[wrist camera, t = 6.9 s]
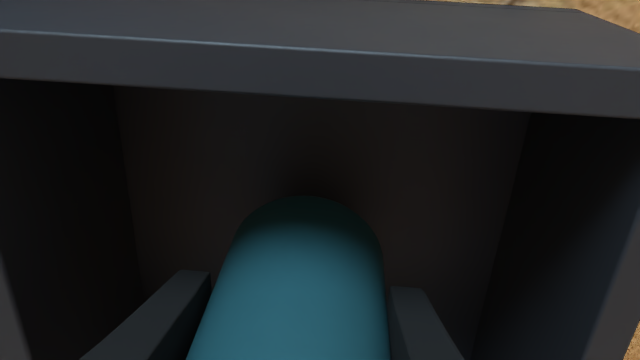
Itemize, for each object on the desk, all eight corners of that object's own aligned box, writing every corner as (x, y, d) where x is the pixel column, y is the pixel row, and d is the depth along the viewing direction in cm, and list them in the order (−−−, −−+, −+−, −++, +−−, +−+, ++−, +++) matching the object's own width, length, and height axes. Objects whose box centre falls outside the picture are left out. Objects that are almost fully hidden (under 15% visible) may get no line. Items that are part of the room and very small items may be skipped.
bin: (481, 372, 17) (534, 564, 12) (138, 343, 17) (48, 518, 12) (577, 8, 11) (749, 74, 6) (82, -20, 12) (-119, 22, 7)
